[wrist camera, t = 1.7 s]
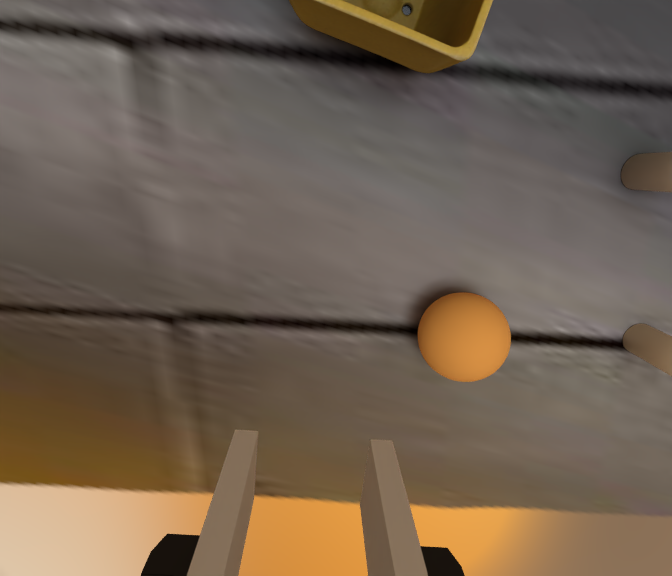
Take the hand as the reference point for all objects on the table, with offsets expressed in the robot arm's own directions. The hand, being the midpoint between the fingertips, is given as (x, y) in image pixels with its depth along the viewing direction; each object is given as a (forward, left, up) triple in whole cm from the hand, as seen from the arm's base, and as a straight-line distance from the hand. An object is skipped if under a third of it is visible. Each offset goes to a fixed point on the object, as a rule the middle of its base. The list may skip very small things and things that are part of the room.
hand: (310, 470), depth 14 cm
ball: (+10, 0, -14) cm, 17 cm away
